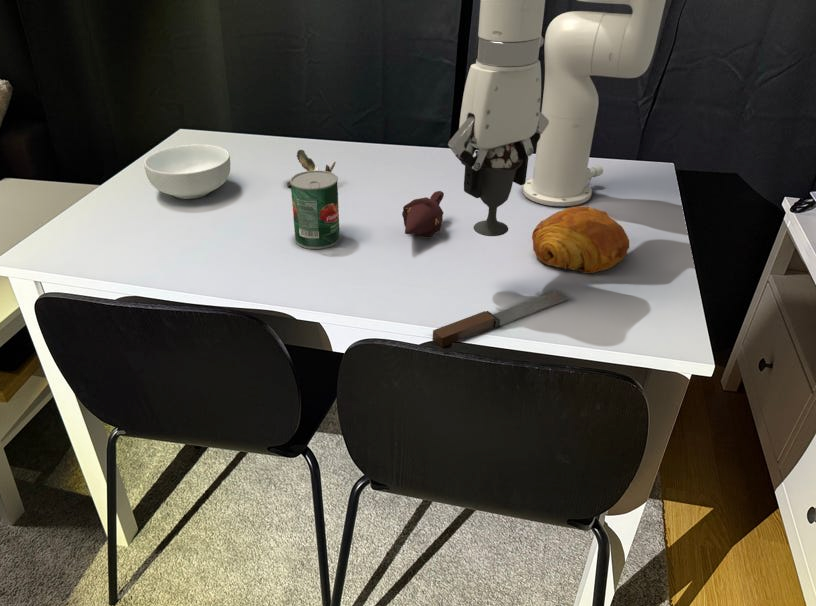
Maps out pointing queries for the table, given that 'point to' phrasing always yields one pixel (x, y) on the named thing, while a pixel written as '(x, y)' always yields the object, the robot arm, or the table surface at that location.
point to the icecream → (423, 216)
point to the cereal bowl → (188, 170)
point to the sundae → (497, 186)
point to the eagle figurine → (309, 163)
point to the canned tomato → (315, 209)
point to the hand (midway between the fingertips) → (494, 187)
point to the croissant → (580, 240)
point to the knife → (493, 319)
